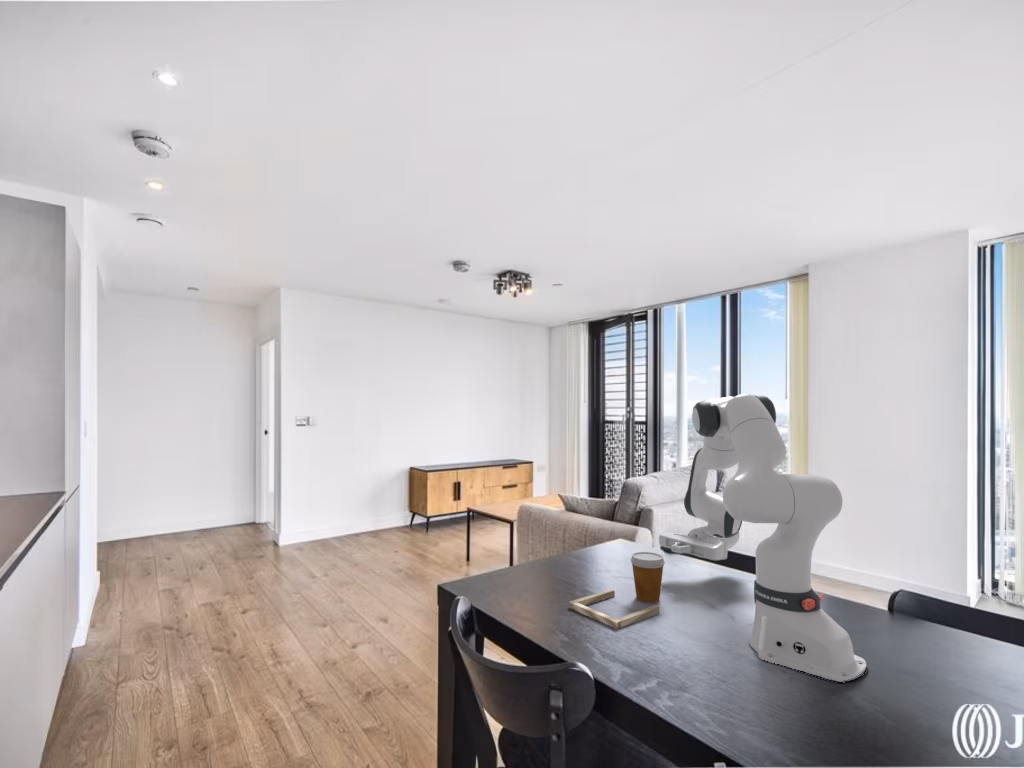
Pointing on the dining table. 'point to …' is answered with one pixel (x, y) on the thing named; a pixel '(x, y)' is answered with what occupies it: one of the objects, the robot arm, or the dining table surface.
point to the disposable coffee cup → (647, 575)
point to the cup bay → (616, 623)
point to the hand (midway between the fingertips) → (675, 549)
